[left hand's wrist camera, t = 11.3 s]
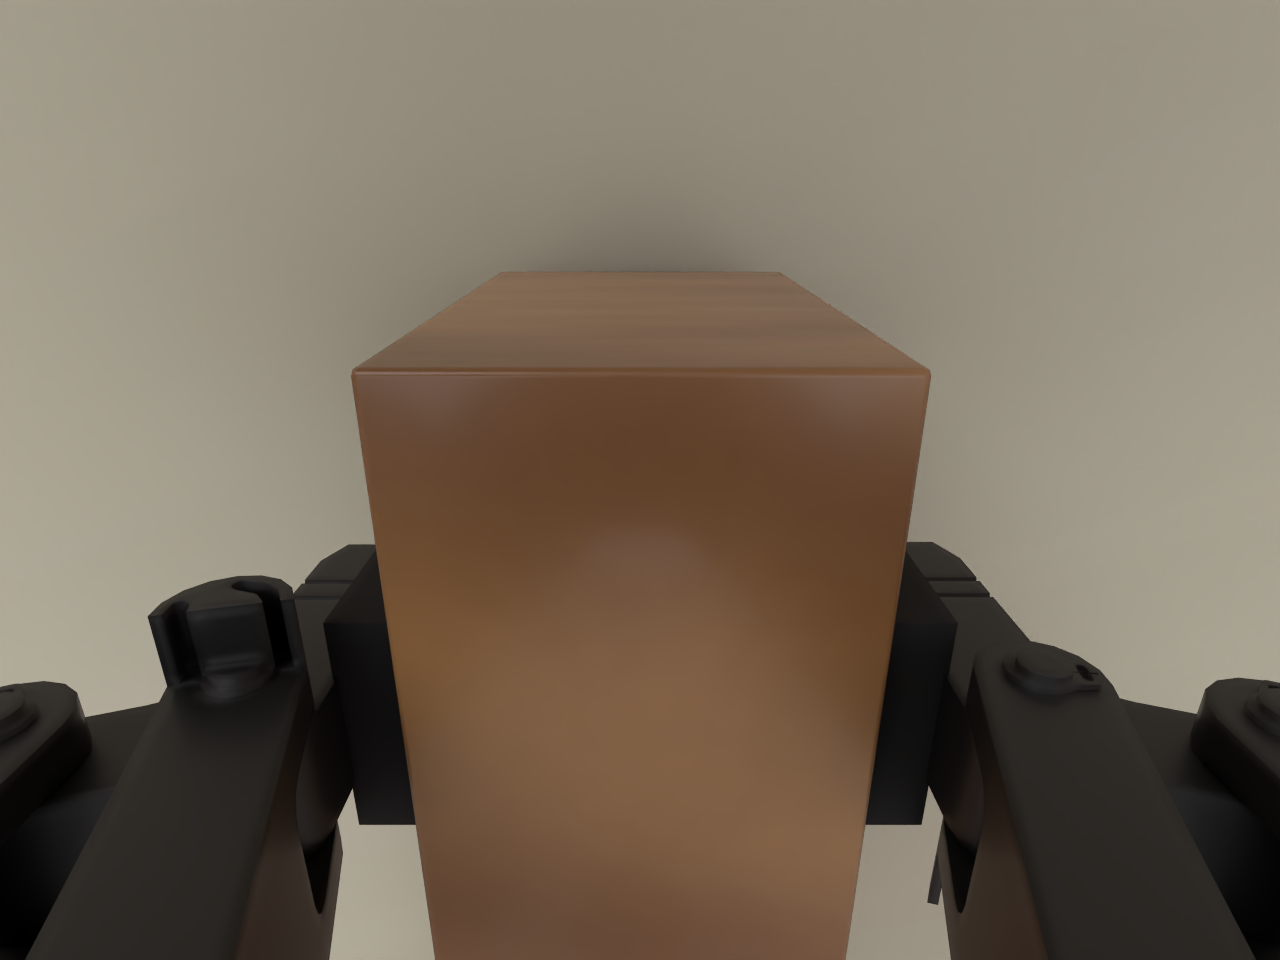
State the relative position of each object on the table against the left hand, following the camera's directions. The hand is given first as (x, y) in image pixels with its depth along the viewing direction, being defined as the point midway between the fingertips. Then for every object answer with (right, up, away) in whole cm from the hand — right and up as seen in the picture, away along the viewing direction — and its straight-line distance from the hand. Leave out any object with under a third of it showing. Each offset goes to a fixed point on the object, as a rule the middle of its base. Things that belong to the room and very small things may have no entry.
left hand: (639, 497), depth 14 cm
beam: (0, -26, +11) cm, 28 cm away
